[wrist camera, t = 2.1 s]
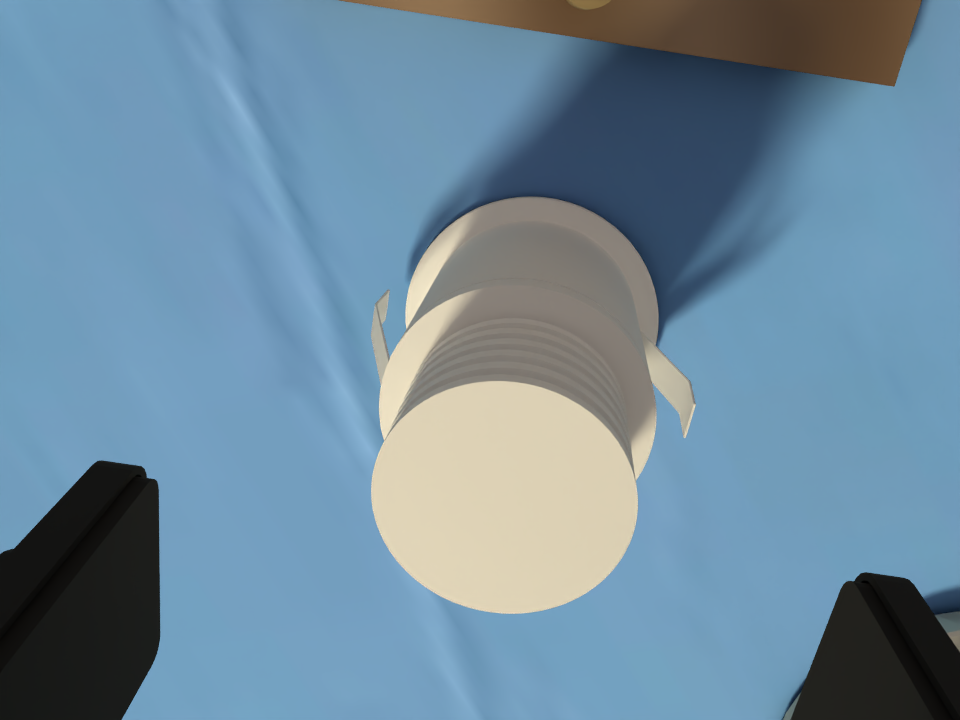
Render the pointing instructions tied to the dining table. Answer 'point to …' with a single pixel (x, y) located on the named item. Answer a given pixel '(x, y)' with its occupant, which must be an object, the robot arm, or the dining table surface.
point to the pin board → (717, 28)
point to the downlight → (520, 406)
